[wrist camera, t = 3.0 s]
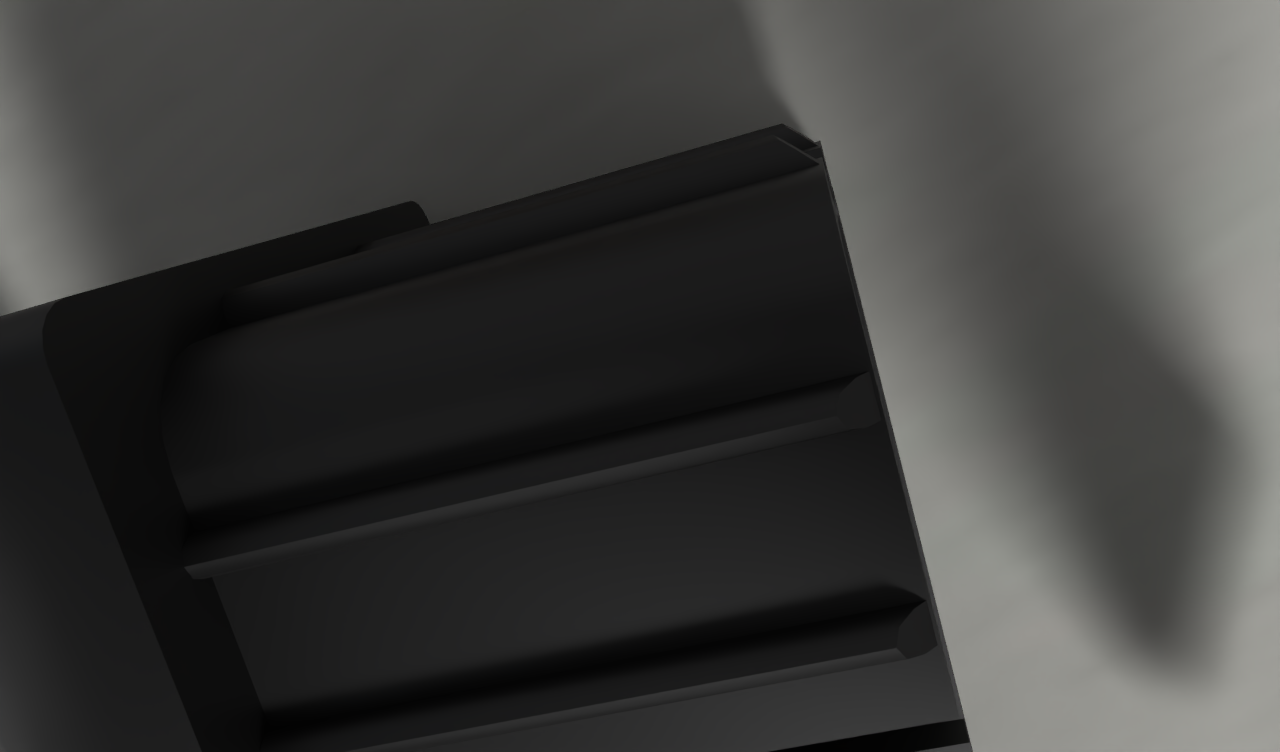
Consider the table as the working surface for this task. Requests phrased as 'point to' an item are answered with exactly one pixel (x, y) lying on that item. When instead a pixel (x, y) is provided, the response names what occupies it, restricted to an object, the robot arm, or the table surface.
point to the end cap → (475, 487)
